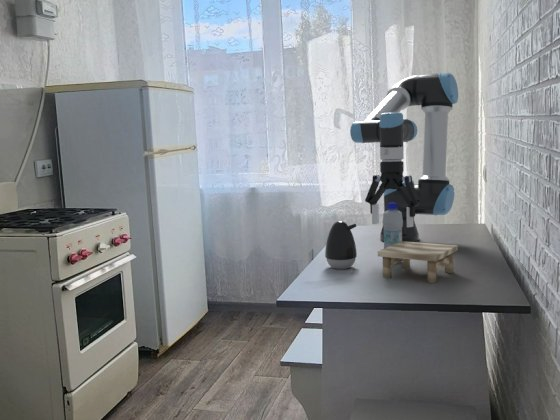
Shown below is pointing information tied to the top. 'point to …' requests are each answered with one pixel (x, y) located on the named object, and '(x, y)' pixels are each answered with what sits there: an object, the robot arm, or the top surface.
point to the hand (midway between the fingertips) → (392, 225)
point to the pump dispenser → (341, 246)
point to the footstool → (419, 257)
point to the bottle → (392, 225)
